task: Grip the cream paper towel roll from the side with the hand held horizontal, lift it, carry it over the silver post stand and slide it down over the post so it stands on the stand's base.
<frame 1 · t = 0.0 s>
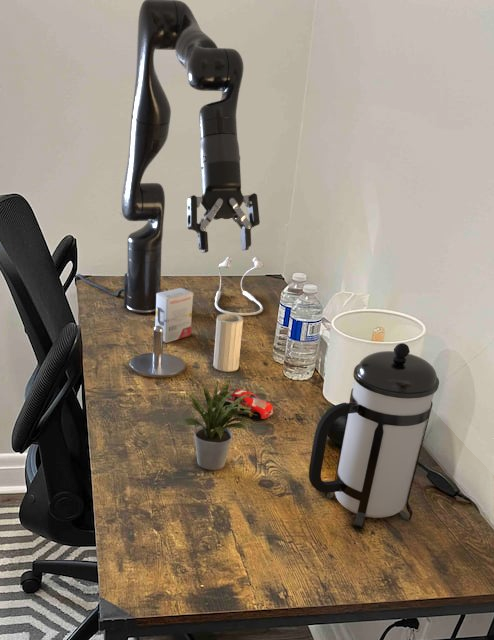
hand: (225, 251, 145), 31 cm above the table, tool tilted 20°, fingers open, 8 cm apart
house plant: (206, 466, 137), on the table
stand: (157, 366, 174), on the table
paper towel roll: (225, 366, 175), on the table
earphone: (236, 304, 213), on the table
coffee press: (361, 510, 126), on the table
race car: (242, 411, 156), on the table
ink box: (172, 337, 190), on the table
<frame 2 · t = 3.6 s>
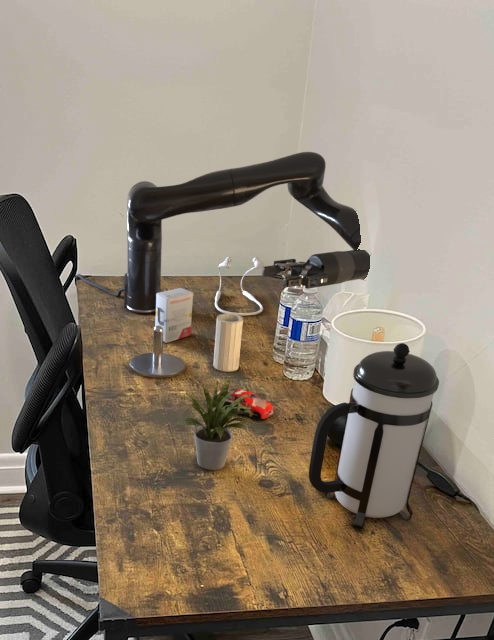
hand: (273, 277, 168), 20 cm above the table, tool horizontal, fingers open, 8 cm apart
nothing on the table moved.
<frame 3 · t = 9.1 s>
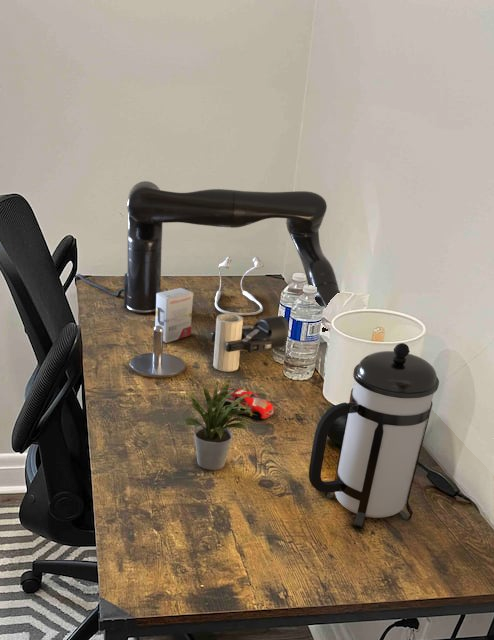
hand: (219, 342, 171), 7 cm above the table, tool horizontal, fingers closed on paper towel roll, 6 cm apart
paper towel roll: (225, 366, 175), on the table, touching gripper
everything else where it was.
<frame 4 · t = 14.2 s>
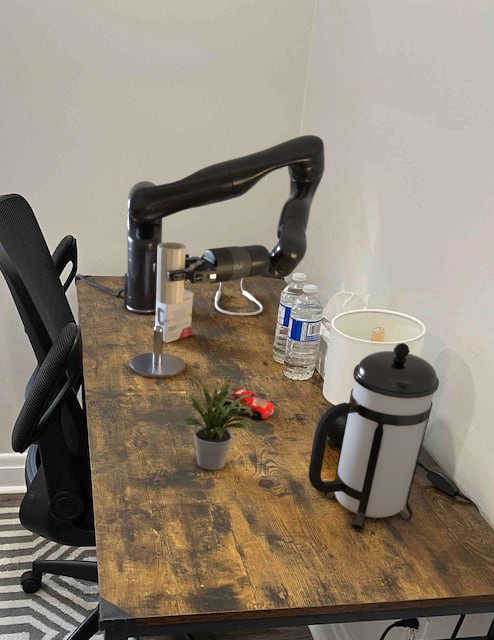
hand: (161, 272, 161), 23 cm above the table, tool horizontal, fingers closed on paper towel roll, 6 cm apart
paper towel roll: (169, 299, 165), point 16 cm above the table, touching gripper
everything else where it was.
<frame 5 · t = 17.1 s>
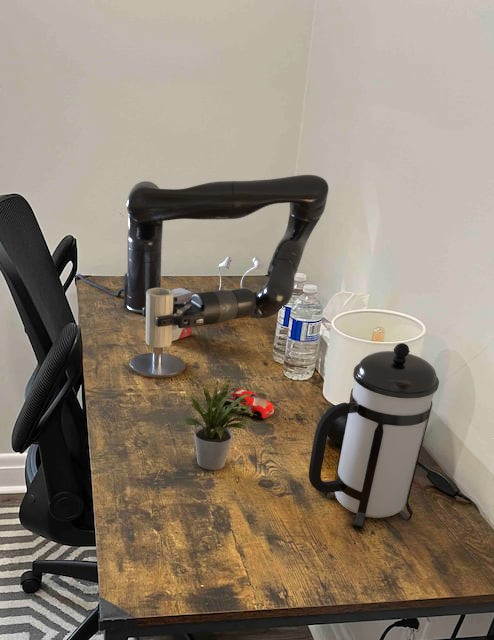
hand: (149, 317, 166), 13 cm above the table, tool horizontal, fingers closed on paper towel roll, 6 cm apart
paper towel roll: (158, 342, 170), point 6 cm above the table, touching gripper
everything else where it was.
when the fingers open (7 cm above the table, at t = 19.5 s): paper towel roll stays where it is, resting on stand.
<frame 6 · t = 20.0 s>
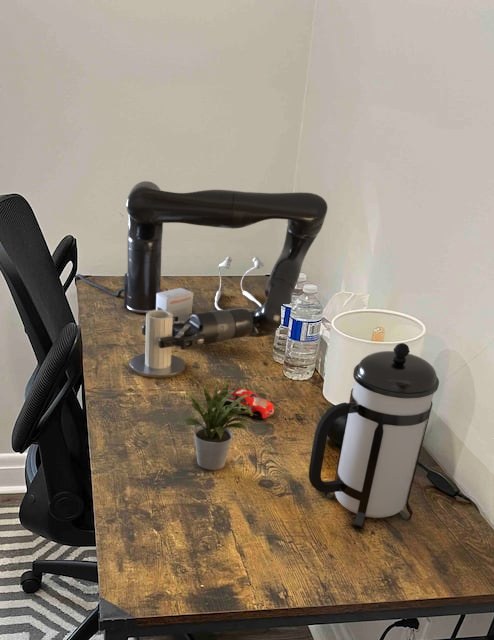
hand: (150, 336, 169), 8 cm above the table, tool horizontal, fingers open, 8 cm apart
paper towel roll: (157, 363, 173), point 1 cm above the table, touching stand
everything else where it was.
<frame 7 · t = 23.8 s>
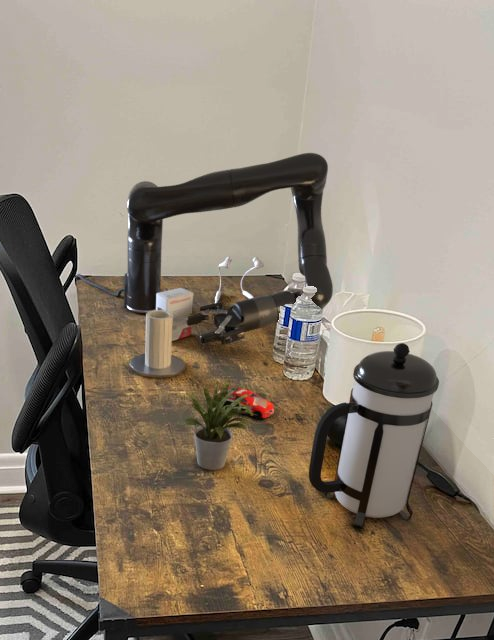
hand: (193, 330, 177), 6 cm above the table, tool horizontal, fingers open, 8 cm apart
nothing on the table moved.
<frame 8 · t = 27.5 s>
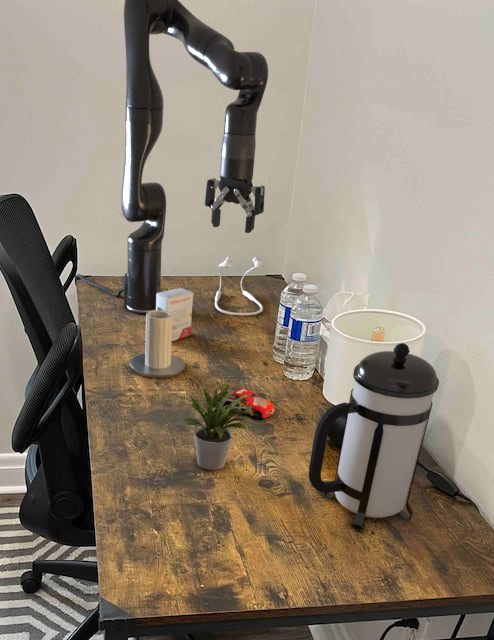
hand: (231, 229, 173), 28 cm above the table, tool pointing down, fingers open, 8 cm apart
nothing on the table moved.
at the end: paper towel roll 0.1 cm off-centre on the stand, point 0.8 cm above the stand's base; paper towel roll tilted 0°; the gripper is holding nothing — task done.
